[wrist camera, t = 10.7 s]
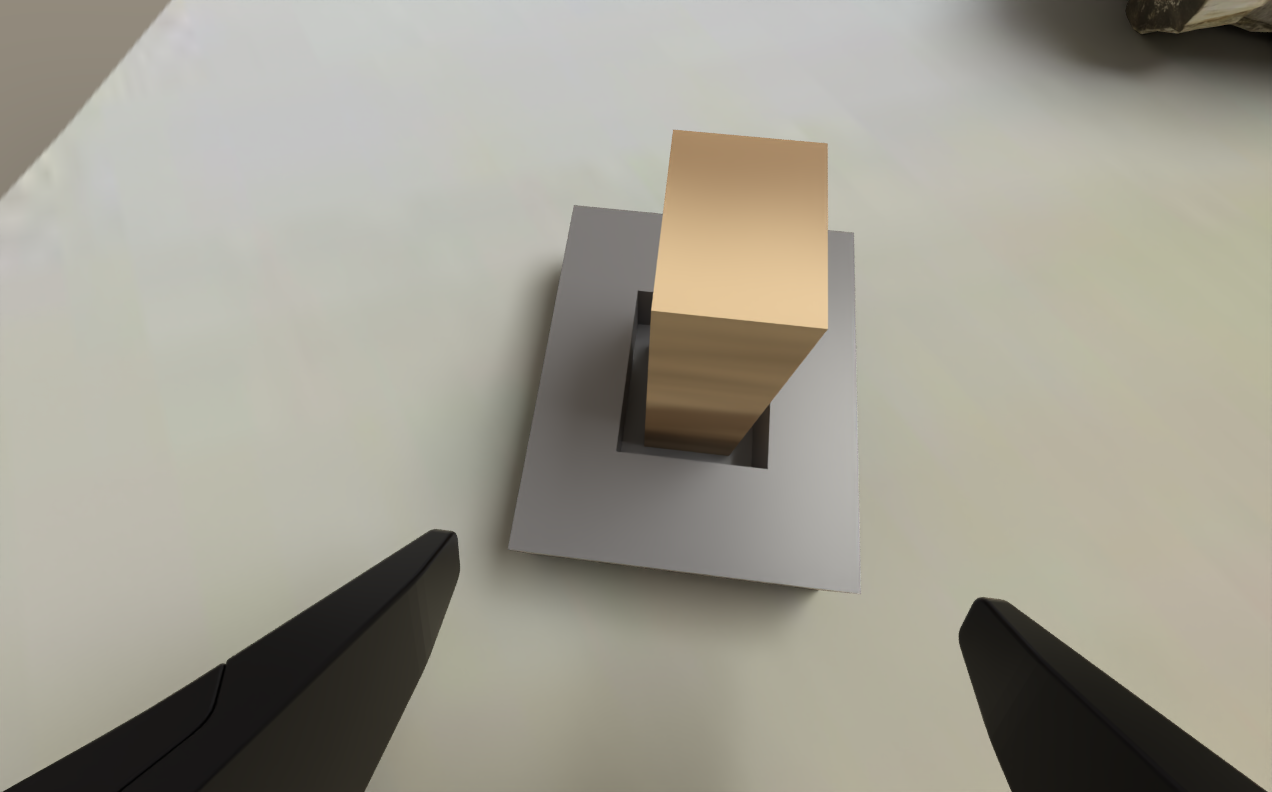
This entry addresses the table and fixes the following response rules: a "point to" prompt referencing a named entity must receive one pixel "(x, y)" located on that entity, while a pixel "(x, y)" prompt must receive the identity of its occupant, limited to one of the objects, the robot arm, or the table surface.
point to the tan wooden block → (734, 284)
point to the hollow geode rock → (1198, 15)
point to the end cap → (681, 480)
